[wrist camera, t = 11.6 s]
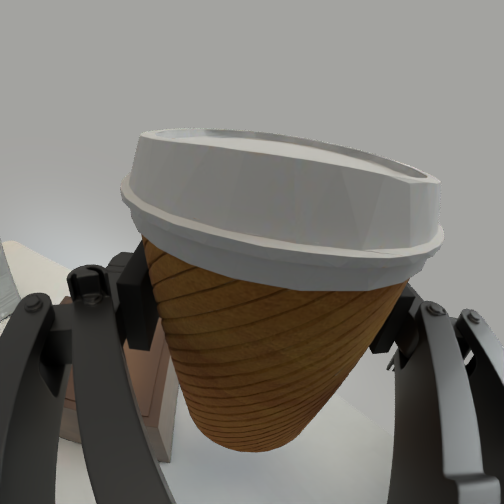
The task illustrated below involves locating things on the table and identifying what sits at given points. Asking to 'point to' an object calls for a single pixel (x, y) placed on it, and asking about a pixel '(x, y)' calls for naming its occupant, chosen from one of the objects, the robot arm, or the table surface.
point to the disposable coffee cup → (273, 267)
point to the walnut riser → (140, 394)
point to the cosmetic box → (7, 288)
